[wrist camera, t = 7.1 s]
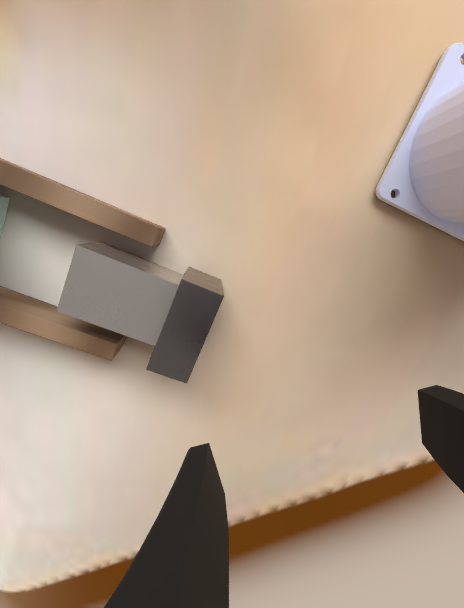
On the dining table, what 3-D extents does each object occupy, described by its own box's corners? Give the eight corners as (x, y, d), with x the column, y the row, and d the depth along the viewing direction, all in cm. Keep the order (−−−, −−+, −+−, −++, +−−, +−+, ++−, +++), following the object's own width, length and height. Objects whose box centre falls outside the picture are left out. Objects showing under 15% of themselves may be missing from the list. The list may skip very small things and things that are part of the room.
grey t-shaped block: (220, 279, 17) (223, 296, 13) (192, 347, 18) (186, 383, 14) (104, 231, 16) (65, 232, 12) (80, 306, 17) (36, 331, 13)
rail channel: (165, 228, 16) (158, 227, 14) (122, 346, 18) (111, 360, 16) (-97, 116, 14) (-146, 98, 12) (-121, 261, 16) (-167, 265, 14)
